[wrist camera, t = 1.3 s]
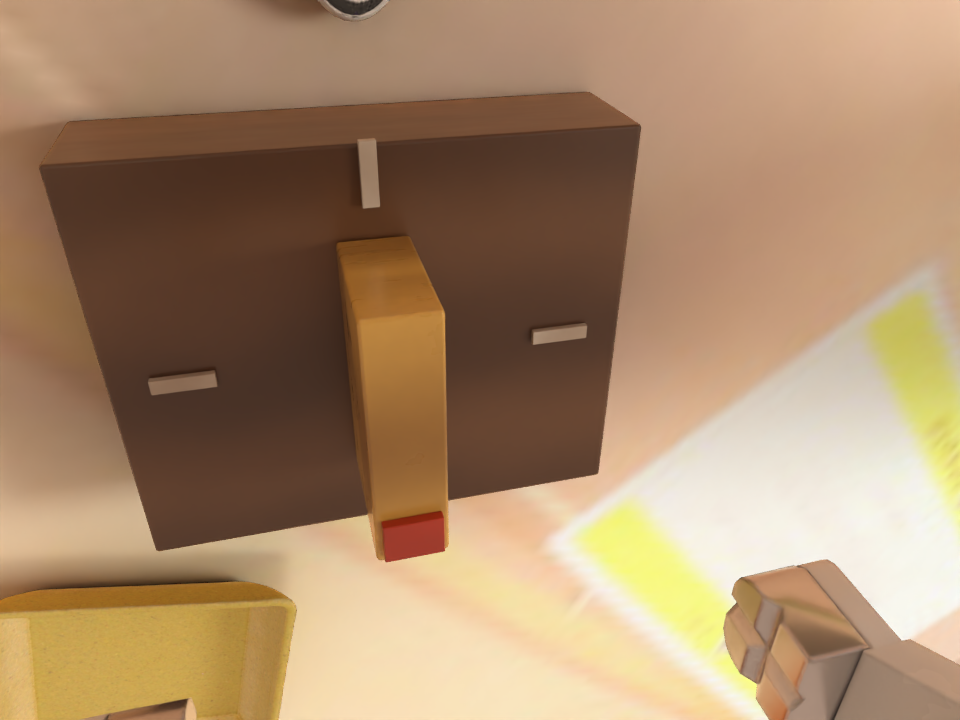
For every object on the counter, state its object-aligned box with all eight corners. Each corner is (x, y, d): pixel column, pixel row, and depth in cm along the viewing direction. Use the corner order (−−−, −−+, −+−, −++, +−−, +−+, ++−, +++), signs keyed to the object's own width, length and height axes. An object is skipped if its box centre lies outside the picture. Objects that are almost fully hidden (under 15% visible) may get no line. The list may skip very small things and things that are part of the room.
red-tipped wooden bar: (335, 240, 16) (357, 328, 13) (410, 233, 17) (448, 317, 14) (357, 460, 19) (379, 570, 16) (419, 450, 20) (452, 556, 17)
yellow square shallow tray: (269, 718, 29) (271, 772, 27) (2, 743, 26) (-14, 805, 24) (294, 549, 25) (299, 600, 23) (-19, 556, 22) (-41, 615, 20)
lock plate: (64, 116, 16) (33, 163, 14) (591, 87, 19) (646, 121, 16) (165, 478, 22) (156, 560, 19) (562, 416, 25) (600, 481, 22)
